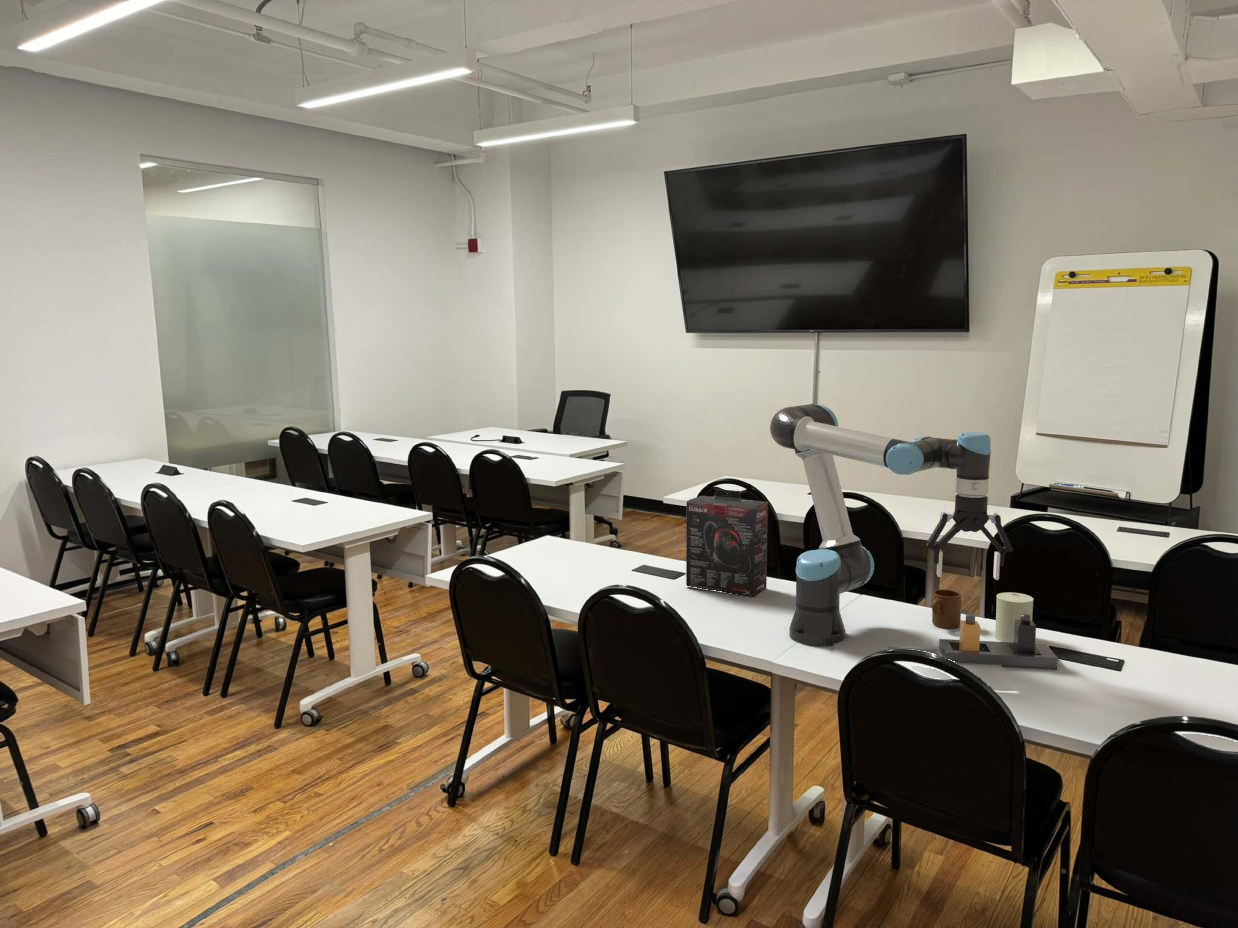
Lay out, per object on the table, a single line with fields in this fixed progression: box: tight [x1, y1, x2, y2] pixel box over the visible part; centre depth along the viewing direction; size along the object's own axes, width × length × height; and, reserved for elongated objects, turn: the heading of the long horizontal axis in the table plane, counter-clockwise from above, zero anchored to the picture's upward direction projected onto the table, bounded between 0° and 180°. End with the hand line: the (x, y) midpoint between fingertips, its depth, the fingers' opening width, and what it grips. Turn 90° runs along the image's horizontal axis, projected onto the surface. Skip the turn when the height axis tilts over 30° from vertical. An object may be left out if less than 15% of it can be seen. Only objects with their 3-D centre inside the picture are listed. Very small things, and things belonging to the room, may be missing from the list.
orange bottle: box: [959, 613, 981, 651], centre depth 219 cm, size 4×4×11 cm
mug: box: [931, 589, 962, 630], centre depth 243 cm, size 12×8×9 cm, turn 135°
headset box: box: [685, 488, 769, 598], centre depth 283 cm, size 25×12×33 cm, turn 60°
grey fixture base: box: [938, 614, 1059, 671], centre depth 217 cm, size 26×10×12 cm, turn 79°
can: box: [994, 591, 1034, 642], centre depth 232 cm, size 9×9×12 cm
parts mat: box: [887, 646, 939, 656], centre depth 221 cm, size 12×10×1 cm
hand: (967, 577), depth 218 cm, fingers open, 13 cm apart
